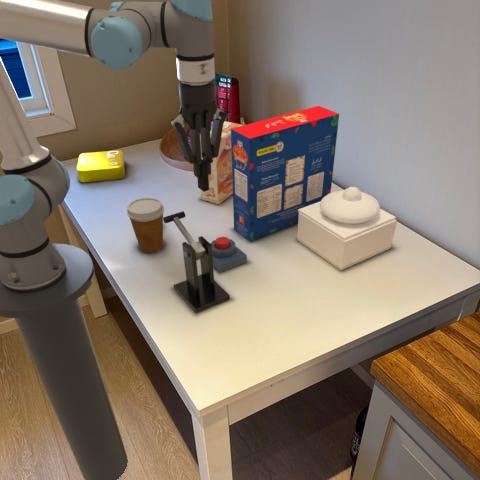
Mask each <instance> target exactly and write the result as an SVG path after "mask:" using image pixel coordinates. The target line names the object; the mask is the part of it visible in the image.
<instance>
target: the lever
mask: <svg viewBox="0 0 480 480" xmlns="http://www.w3.org/2000/svg"><path fill="white" fill-rule="evenodd" d="M185 218H186V213H185V211H184V210H182V211H179V212H176V213H172V214H169V215H166V216H163V224H168V223H169V224H170V223H172V222H173V223H174V225H175V226H176V227H177V229H178V230H179V232H180V234H182V236H183V238H184V239H185V241H186V242H187V243H188V244H189V245H190V246H191V247H192V248H193V249H194V250H195V251H196V261H198V260H200V259H201V258H204V256H205V249H204V248H203V246H202V245H201V243H200V242H199V241H195V240H194V238H193V236H191V234H190V232H189V231H188V230H187V228H186V227H185V225H184V224H183V223H182V221H181V219H185Z"/></svg>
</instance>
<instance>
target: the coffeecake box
mask: <svg viewBox="0 0 480 480" xmlns="http://www.w3.org/2000/svg"><path fill="white" fill-rule="evenodd" d="M243 125H244V124H240V123H236V122H230V121H227V120H225V121H224V124H223V130H222V136H221V142H220V148H219V154H218V157H216V158H215V157H214V158H213V159H212V160H213V162H212V163H211V174H210V175H208V178H209V190H208V191H204V192H203V191H202V190H201V189H200V188H199V191H200V200H202V201H207V202H209V203H212V204H216V205H220V204H221V203H222V202H224V201H225V200H226V199H228V198H229V197H231V196H233V181H232V151H231V129H232V128H235V127H239V126H243ZM211 132H212V127H211V131H210V136H211ZM200 144H201V136H200ZM201 159H202V160H203V158H202V151H201Z"/></svg>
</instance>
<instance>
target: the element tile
mask: <svg viewBox="0 0 480 480" xmlns="http://www.w3.org/2000/svg"><path fill="white" fill-rule="evenodd" d="M125 167H126V161H125V156H124V152H123V150H120V149H117V150H116V149H115V150H105V151H104V150H103V151H94V152H82V153H81V154H79V155H78V159H77V164H76V172H77V176H78V180H79V182H81V183H94V182H104V181H114V180H116V181H117V180H121V179H123V178H124V177H125V176H126V170H125V169H126V168H125Z"/></svg>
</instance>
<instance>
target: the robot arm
mask: <svg viewBox="0 0 480 480" xmlns="http://www.w3.org/2000/svg"><path fill="white" fill-rule="evenodd" d="M212 5H213V4H212V0H167V1H132V0H124V1H114V2H112V3H111V4H110V6H109V9H108V10H106V9H102V8H94V7H92V6H88V5H83V4H78V3H73V2H70V1H69V2H68V1H65V0H0V39H2V40H7V41H11V42H16V43H20V44H26V45H31V46H35V47H40V48H44V49H50V50H55V51H60V52H65V53H69V54H75V55H79V56H84V57H88V58H93V59H97V61H98V62H100V63H101V64H102V65H103V66H105V67H106V68H107V69H111V70H117V71H118V70H123V69H126V68H128V67H131V66H132V65H134V64H135V63H137V61H138V60H139V59H140V57H141V56H142V55H143V54H144V53H146V52H148V50H149V49H150V48H151V49H152V48H167V49H171V48H174V50H175V59H176V70H177V71H176V72H177V73H176V74H177V79H178V80H179V82H178V94H179V102H180V108H179V113H178V115H177V117H176V118H175V119H173V118H171V119H170V120H169V124H170V125H171V127H172V128H173V129H174V131H175V134H176V137H177V140H178V142H179V146H180V149H181V152H182V155H183V158H184V160H185V161H186V162H187V163H189V164H190V165H192V166H193V175H194V176H195V178H197V188H198V189H199V190H200V189H201V190H202V191H203V192H204V191H208V190H209V178H208V175H210V174H211V163H212V162H213V160H212V159H213V158H214V157H215V158H216V157H218V154H219V148H220V142H221V136H222V130H223V124H224V121H226V119H227V116H228V112H226V111H225V110H223V109H220V108H218V104H217V102H216V99H217V89H216V88H217V87H216V81H215V80H214V79H215V78H216V70H215V69H216V68H215V67H216V66H215V44H214V39H215V38H214V16H213V6H212ZM184 122H185V123H184ZM185 124H186V125H187V126H188V131H189V139H188V136H187V132H186V130H185ZM211 128H212V132H211V136H210V131H211ZM200 136H201V144H200ZM189 140H190V142H189ZM201 151H202V158H203V160H202V159H201ZM0 153H1V156H3V157H2V160H1V162H0V168H1V170H2V171H3V173H4V175H1V176H0V279H1V281H2V284H3V286H4V287H5V288H6V289H8V290H10V291H13V292H19V293H29V292H35V291H39V290H43V289H46V288H48V287H50V286H52V285H54V284H55V283H57V282H58V281H59V280H61V279H62V277H63V276H64V275H65V273H66V265H65V261H64V259H63V257H62V256H61V255H60V253H59V252H58V251H57V250H56V248H55V247H54V246H53V243H52V241H51V240H50V237H49V234H48V231H47V227H46V225H45V222H46V221H47V219H48V218H50V216H51V215H52V213H53V212H54V211H55V210H56V208H57V207H58V206H60V205H61V204H62V203H63V201H64V200H65V199H66V196H67V194H68V193H69V191H70V187H71V178H70V174H69V171H68V169H67V168H66V166H65V164H63V162H61V160H58V159H57V157H55V156H53V155H52V154H51V152H50V150H49V148H47V147H44V146H43V145H41V144H40V143H39V141H38V139H37V135H36V134H35V132H34V130H33V126H32V125H31V123H30V120H29V119H28V116H27V114H26V111H25V110H24V107H23V105H22V103H21V101H20V98H19V96H18V94H17V91H16V90H15V87H14V85H13V83H12V81H11V78H10V76H9V74H8V72H7V69H6V67H5V65H4V62H3V60H2V57H0Z"/></svg>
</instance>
